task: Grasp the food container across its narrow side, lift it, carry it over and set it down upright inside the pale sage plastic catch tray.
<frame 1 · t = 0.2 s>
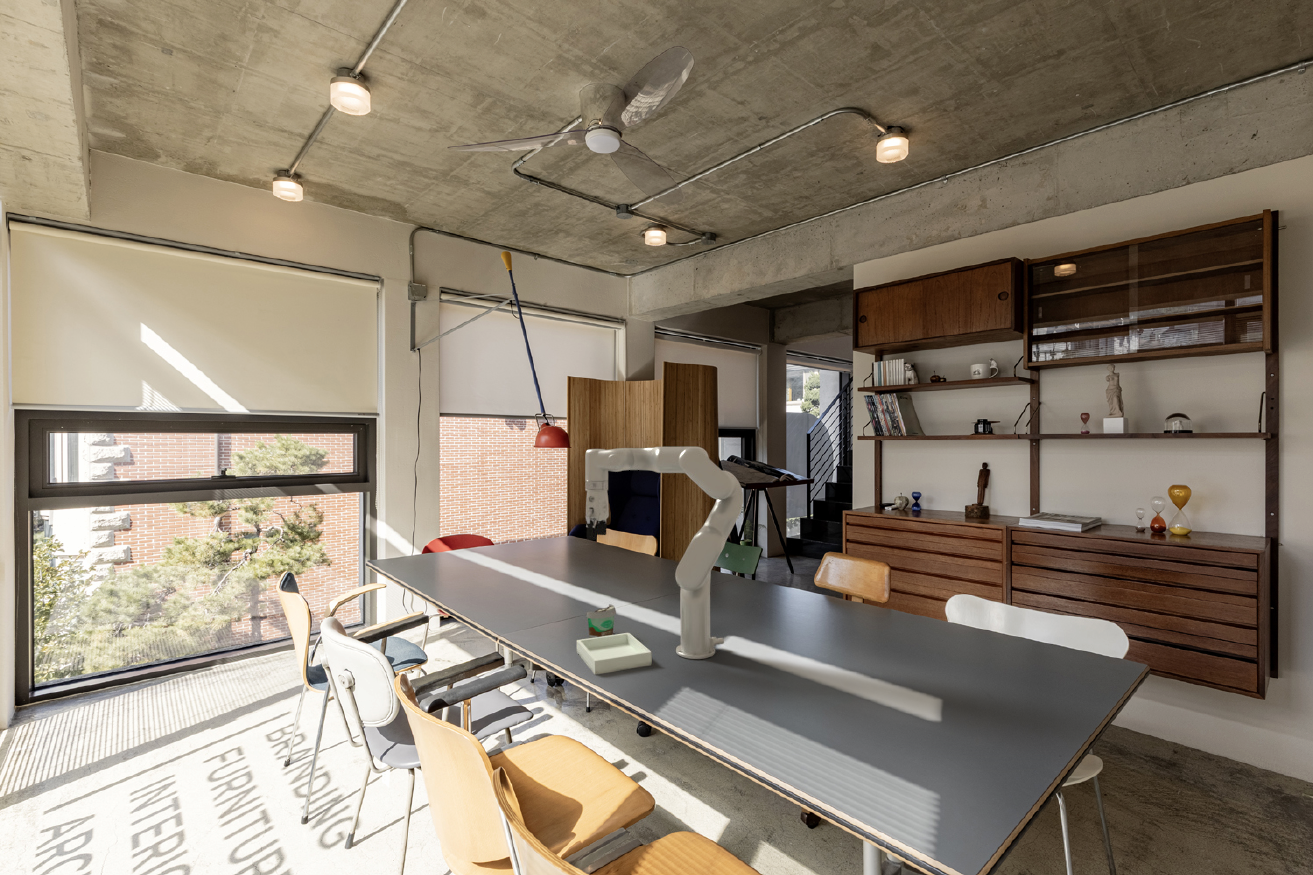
hand: (596, 537, 202), 36 cm above the table, tool pointing down, fingers open, 9 cm apart
catch tray: (613, 658, 190), on the table
food container: (605, 638, 210), on the table
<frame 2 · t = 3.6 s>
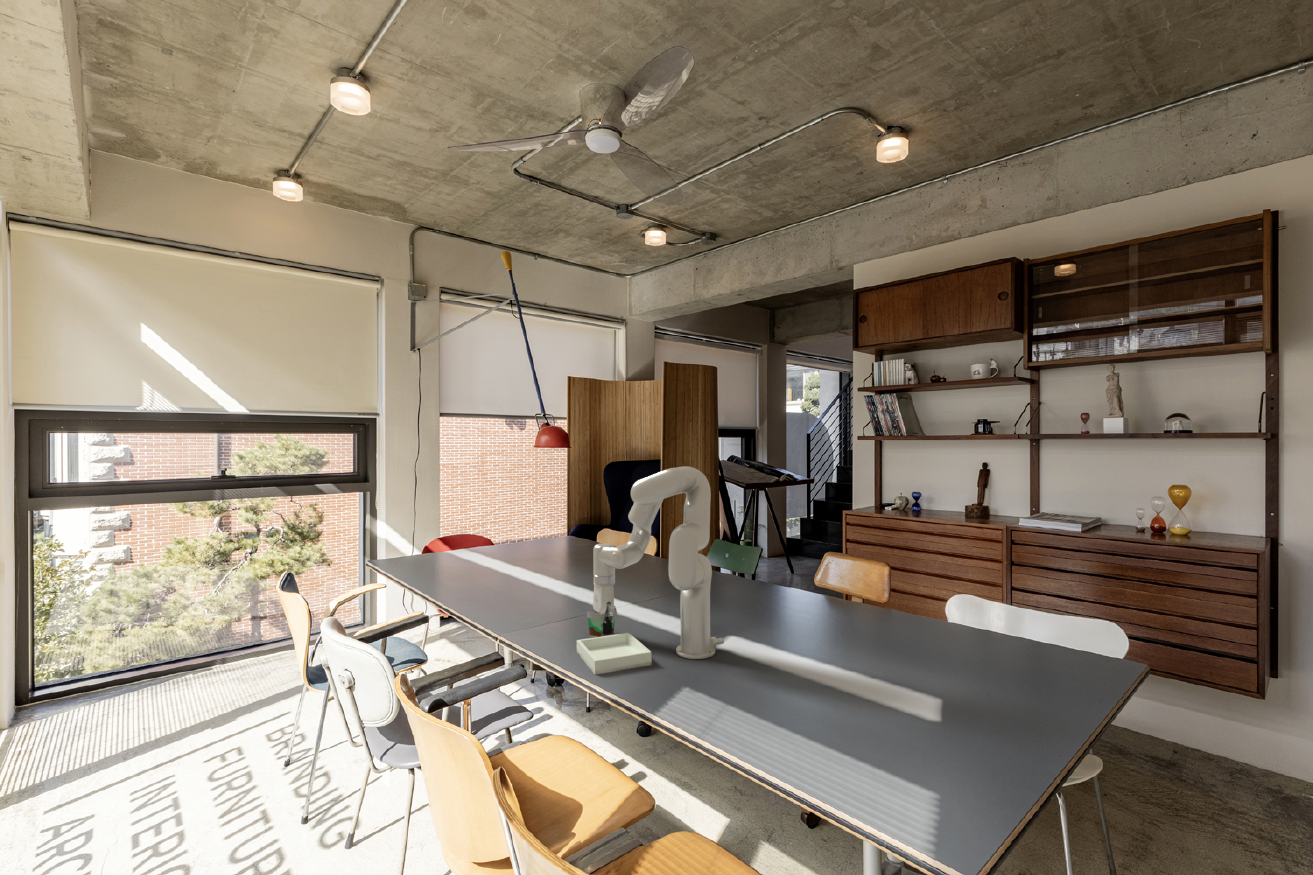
hand: (604, 630, 210), 2 cm above the table, tool pointing down, fingers closed on food container, 6 cm apart
food container: (605, 638, 210), on the table, touching gripper
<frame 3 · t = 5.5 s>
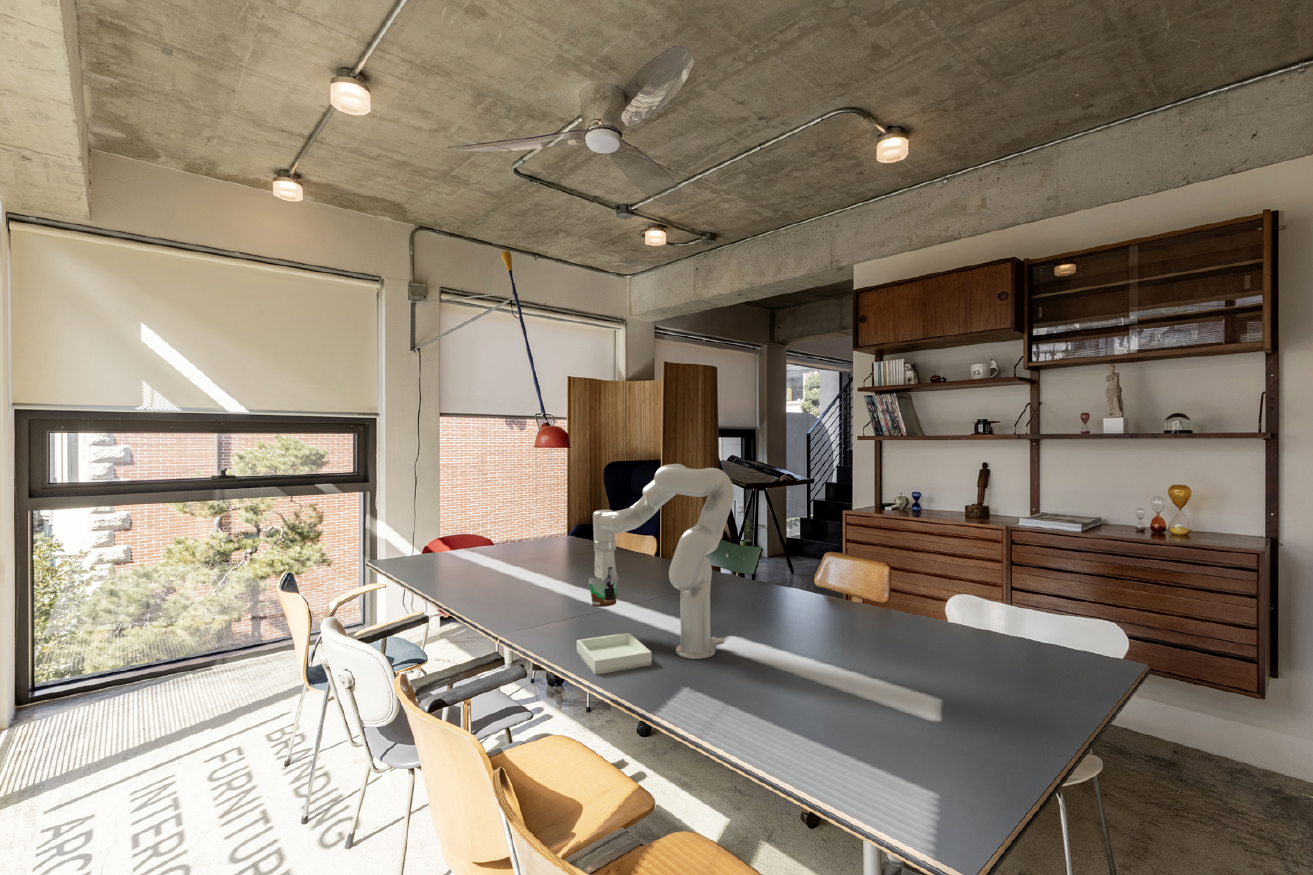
hand: (606, 596, 210), 14 cm above the table, tool pointing down, fingers closed on food container, 6 cm apart
food container: (608, 605, 209), point 12 cm above the table, touching gripper
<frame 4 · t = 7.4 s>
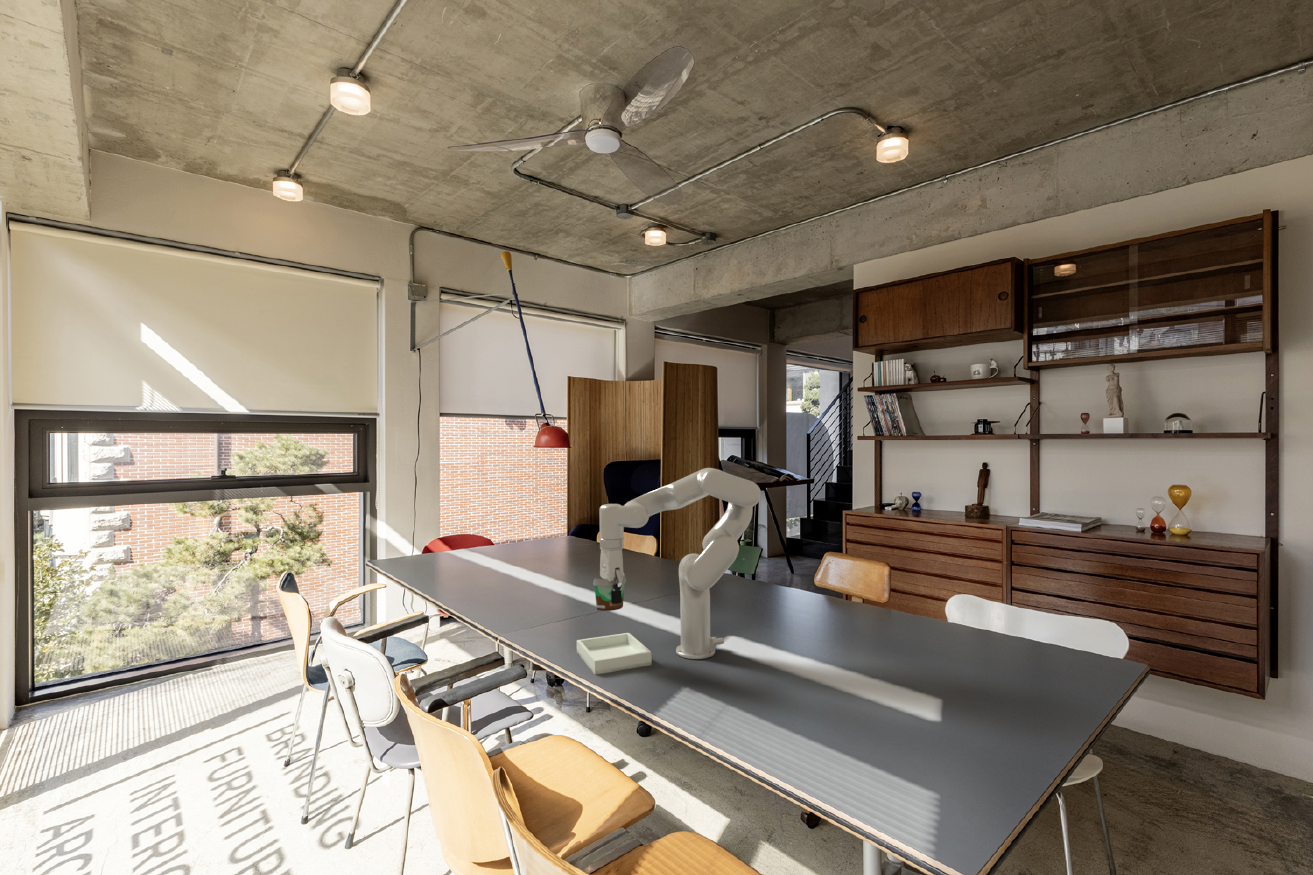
hand: (612, 599, 190), 18 cm above the table, tool pointing down, fingers closed on food container, 6 cm apart
food container: (614, 608, 190), point 16 cm above the table, touching gripper
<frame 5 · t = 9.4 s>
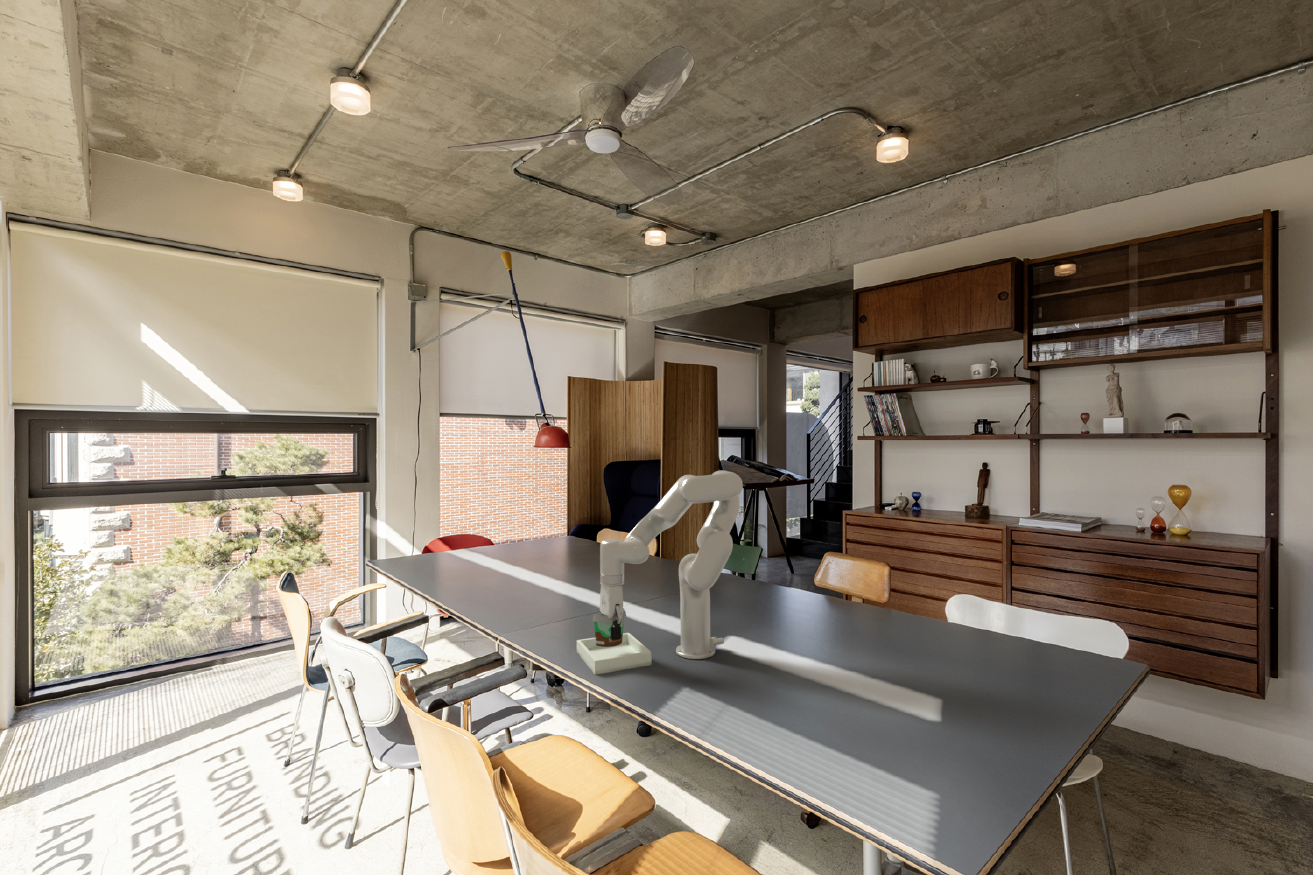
hand: (612, 635, 190), 7 cm above the table, tool pointing down, fingers closed on food container, 6 cm apart
food container: (613, 644, 189), point 5 cm above the table, touching gripper
when the fingers open (5 cm above the table, at t = 10.8 s): food container drops 1 cm, resting on catch tray.
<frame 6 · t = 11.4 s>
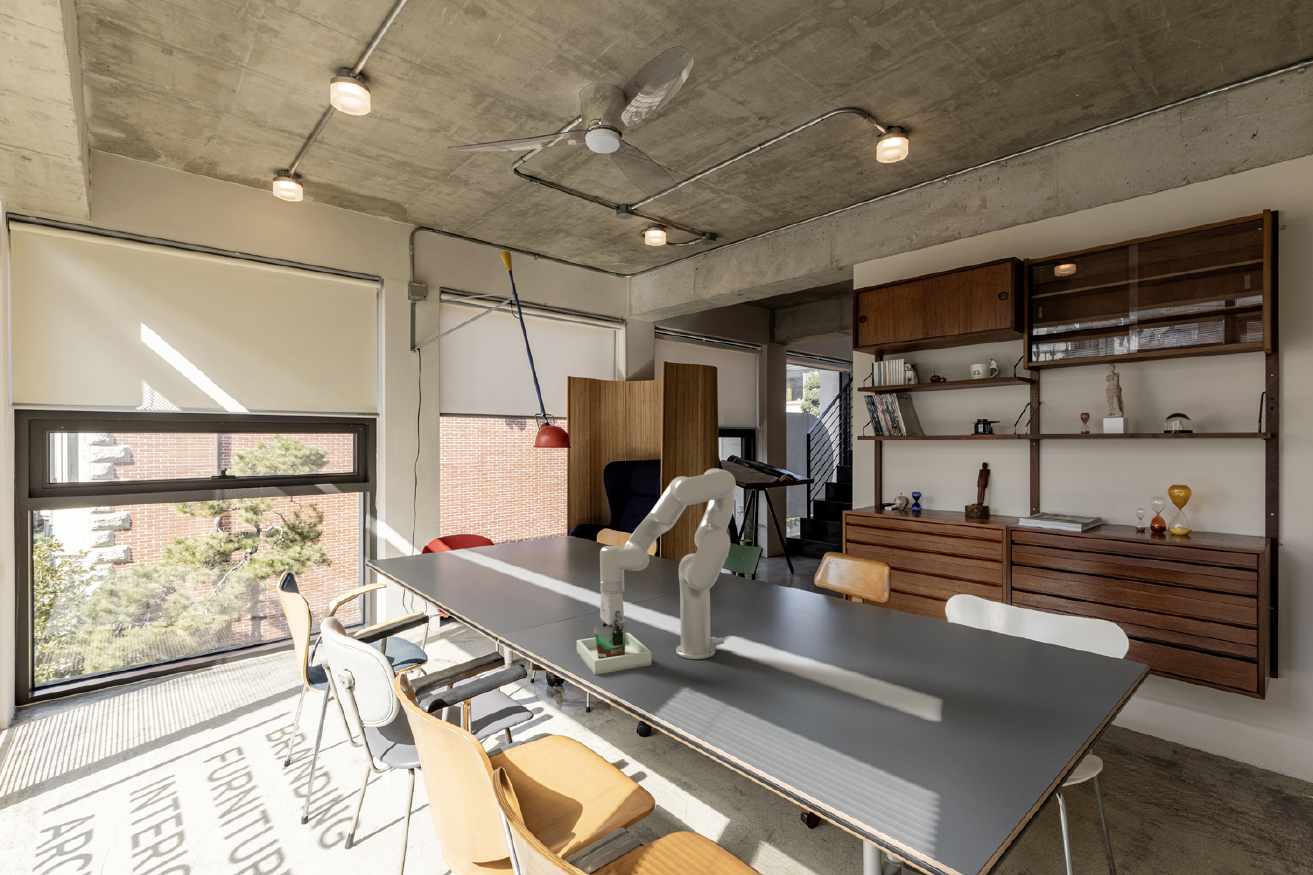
hand: (612, 640, 190), 6 cm above the table, tool pointing down, fingers open, 9 cm apart
food container: (616, 656, 189), point 1 cm above the table, touching catch tray, gripper
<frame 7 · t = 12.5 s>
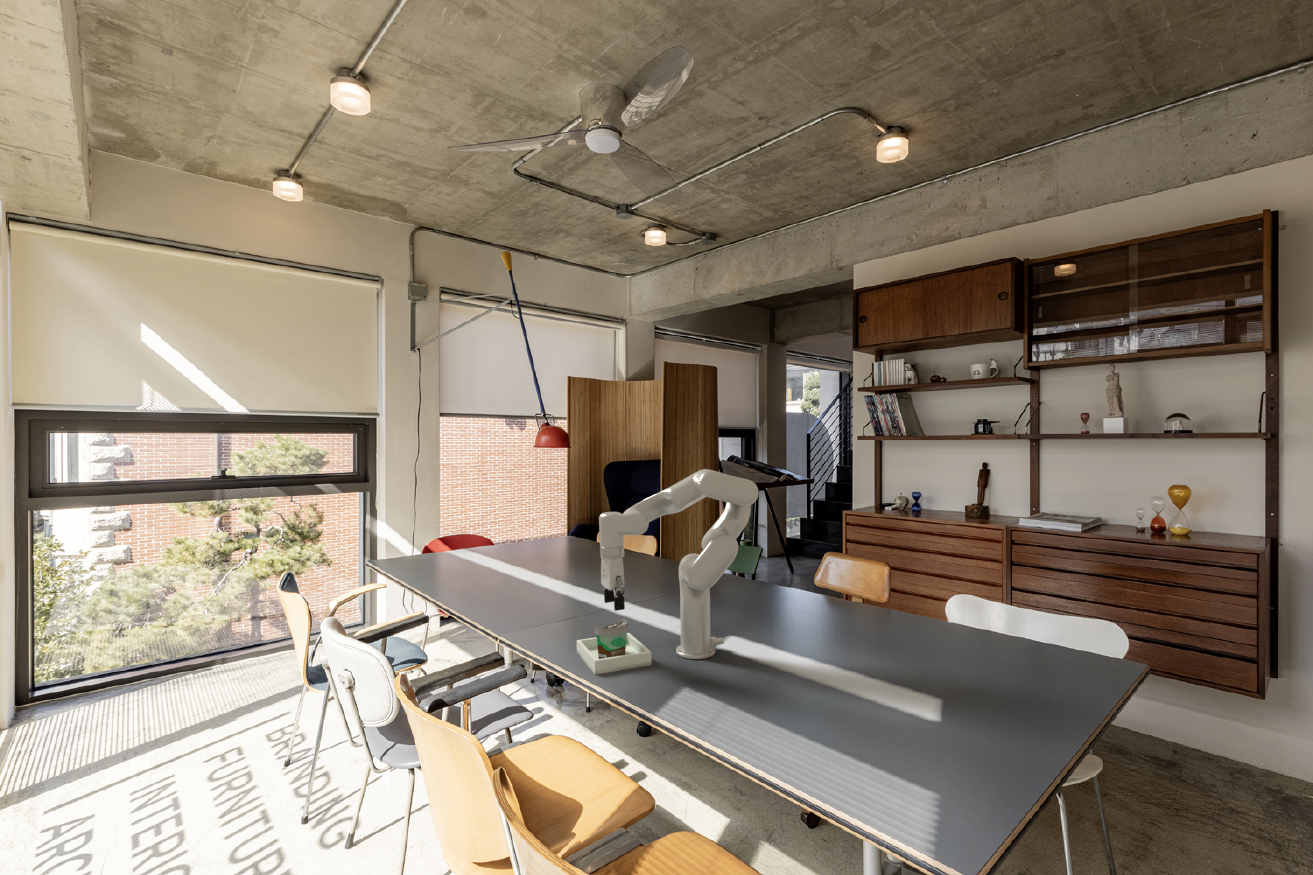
hand: (614, 605, 190), 17 cm above the table, tool pointing down, fingers open, 9 cm apart
food container: (616, 657, 189), point 1 cm above the table, touching catch tray
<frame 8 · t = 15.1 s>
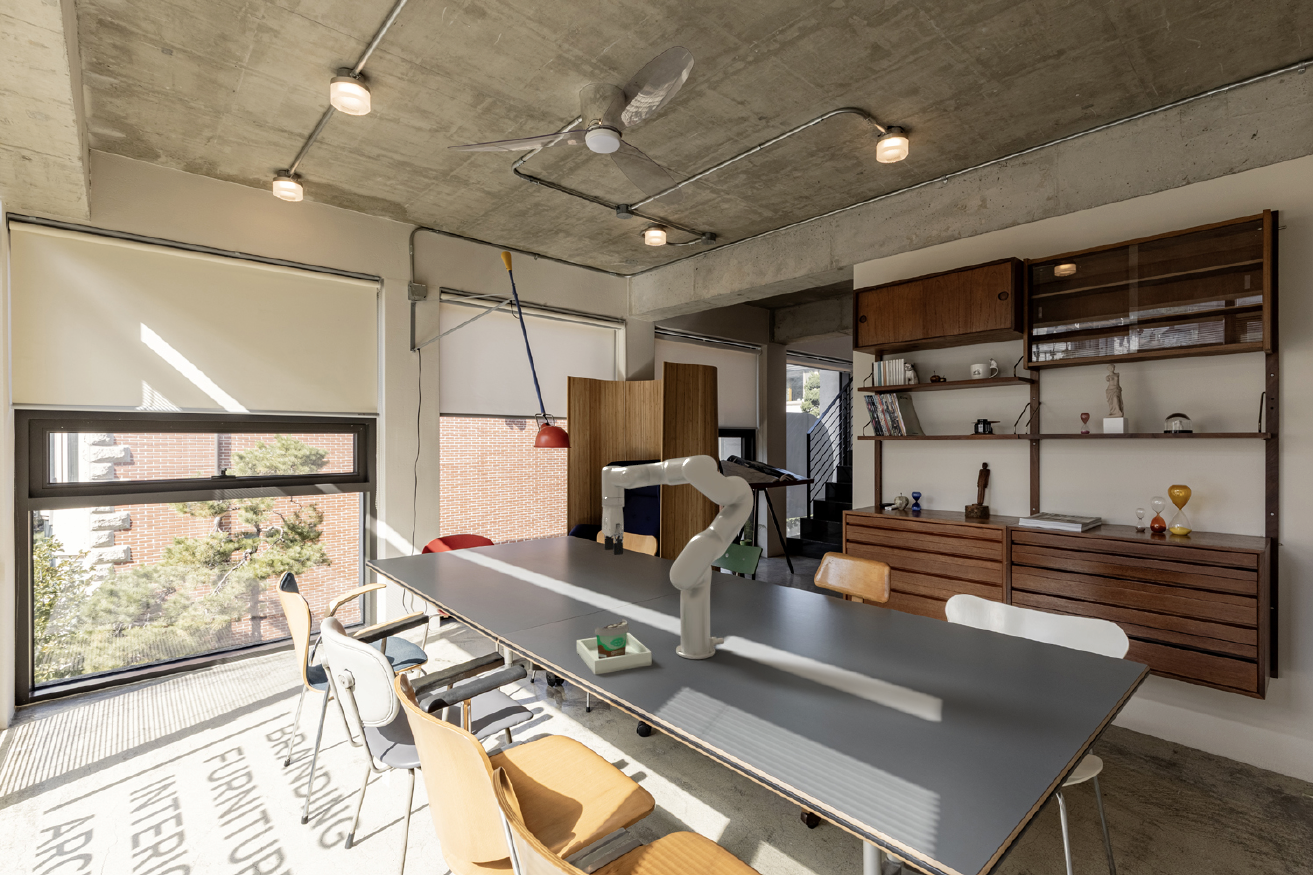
hand: (613, 552, 207), 30 cm above the table, tool pointing down, fingers open, 9 cm apart
nothing on the table moved.
at the end: food container inside the target area on the catch tray (1.8 cm from its centre), point 0.8 cm above the catch tray's base; food container tilted 0°; the gripper is holding nothing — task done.
